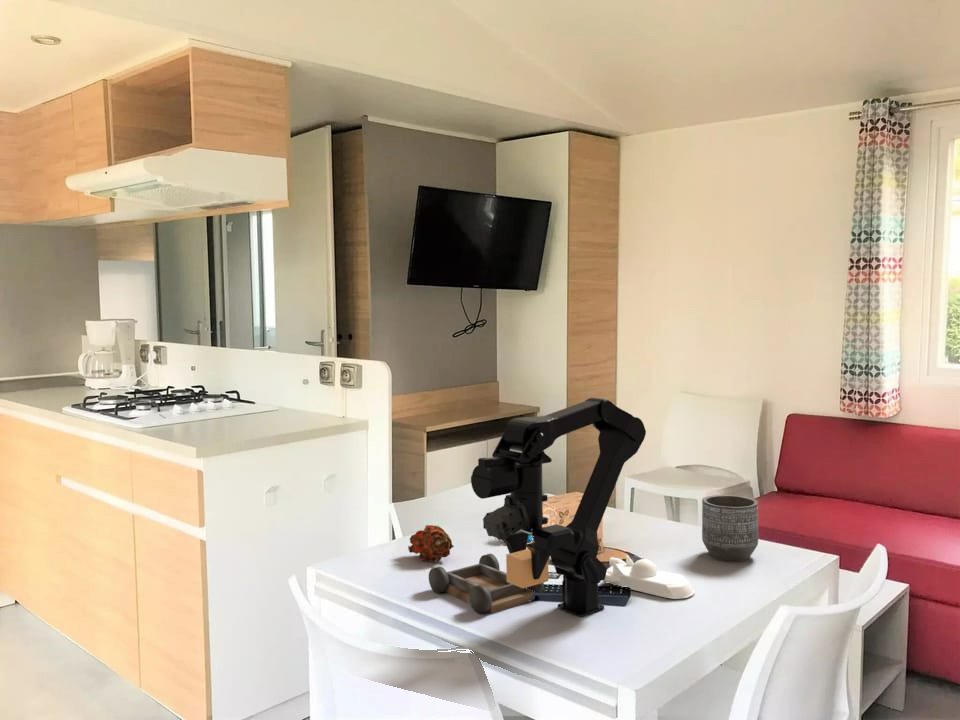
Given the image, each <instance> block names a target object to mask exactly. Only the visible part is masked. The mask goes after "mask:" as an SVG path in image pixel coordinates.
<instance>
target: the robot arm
mask: <svg viewBox="0 0 960 720" xmlns="http://www.w3.org/2000/svg"><path fill="white" fill-rule="evenodd" d="M590 425H592V427H593V428H595V429H596V430H597V431H598V432H599V434H598V437H597V438H598V439H597V441H598V446H599V447H598V448H599V454H598V458H597V460H596V462H595V465H594V467H593V470H592V472H591V475H590V478H589V479H588V482H587V485H586V487H585V489H584V492H583V493H582V496H581V499H580V502H579V504H578V507H577V509H576V511H575V514H574V515H573V516H574V517H573V519H572V520H571V522H570V523H569V524H567V525H566V526H564V525H562V524H561V525H560V524H552V525H548V526H544V527H543V525H547V524H549V523H548V521H549V519H548V517H546V516H544V513H543V512H544V509H543V505H544V504H543V503H544V502H547V501H548V495H547V494H544V493H543V464H548V463H551V462H552V458H551V457H550V456H549V455H547V454H546V453H545V450H547V449H548V448H550V447H552V446H553V444H554V443H555V441H556V440H557V439H558V438H560V437H562V436H566V435H567V434H570V433H572V432H575V431H577V430H580V429H582V428H585V427H588V426H590ZM646 435H647V430H646V427H645V424H644V423H643V420H642V419H641V418H639V417H638V416H637V417H636V416H633V414H631V413H629V412H627V411H626V410H623V409H622V408H620V407H618V406H616V404H614V403H613V402H612V401H610V400H609V399H607V398H599V397H598V398H597V397H590V398H587V399H586V400H584V401H582V402H579V403H577V404H573V405H571V406H568V407H565V408H562V409H560V410H557V411H554V412H551V413H549V414H547V415H541V416H540V415H539V416H523V417H516V418H513V419H510V420H509V421H508V422H507V423H506V427H505V429H504V431H503V433H502V436H501V438H500V439H499V441H498V443H497V445H496V447H495V449H494V451H493V452H492V454H491V455H492V457H479V458H478V460H477V462H478V464H477V465H476V466H475V467H474V468H473V470H472V474H471V476H470V483H471V488H472V491H473V493H474V494H475V495H476V496H477V497H478V498H479V499H483V500H484V499H488V498H493V497H500V496H504V495H505V497H504V501H503V502H504V504H503V505H502V506H501V507H498V508H496V509H495V510H493V511H490V512H486V514H485V515H484V517H483V518H482V522H483V523H482V524H483V529H484V530H486V533H487V536H488V537H493V538H496V539H497V540H499V541H503V542H504V544H505V545H506V548H507V550H508V552H509V553H508V554H510V553H514V552H518V551H522V550H526V549H529V550H530V551H531V559H532V572H533V578H534V579H535V580H536V579H539V578H540V576H541V574H542V572H543V570H544V567H545V565H546V563H547V561H548V562H549V559H550V560H551V563H552V564H553V567H554V569H555V572H556V574H558V575H562V577H563V578H562V579H563V580H562V582H561V583H562V591H561V592H562V593H561V594H562V602H561V603H558V604H557V608H558V609H561V610H563V611H566V612H567V613H570V614H573V615H575V616H577V617H584V616H586V615H590V614H593V613H595V612H598V611H601V610H604V609H605V605H603V604H600V603H599V584H600V583H601V582H602V580H604V579H605V576H606V572H607V569H608V568H607V567H606V565H605V564H603V562H602V561H601V560H599V558H598V552H599V549H600V545H599V537H598V531H599V530H598V529H599V527H600V525H601V522H602V520H603V517H604V514H605V511H606V510H607V507H608V504H609V502H610V500H611V497H612V495H613V492H614V489H615V487H616V484H617V483H618V480H619V477H620V475H621V472H622V469H623V467H624V465H625V463H626V462H627V461H629V460H631V458H632V457H633V456H635V455H636V454H637V453H638V451H639V450H640V447H642V443H643V442H644V440H645V437H646ZM531 529H532V530H531ZM528 534H529V535H531V536H532V537H533V536H534V539H533V541H532V542H528V541H527V540H528Z"/></svg>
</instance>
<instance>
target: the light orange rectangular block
mask: <svg viewBox="0 0 960 720" xmlns="http://www.w3.org/2000/svg"><path fill="white" fill-rule="evenodd" d="M505 555H506V556H505V558H506V563H505V564H506V565H505V566H506V573H507V582H508V583H511V584H513V585H516V586H518V587H520V588H526V587H530V586H533V585H537V584H540V583H543V582H544V583H547V582H549V560H548V561H547V563H546V565H545V567H544V570H543V572H542V574H541V576H540V578H539V579H536V580H535V579H534V578H533V572H532V559H531V551H530V550H529V549H528V548H526V550H522V551H518V552H514V553H507V554H505Z"/></svg>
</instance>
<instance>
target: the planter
mask: <svg viewBox="0 0 960 720" xmlns="http://www.w3.org/2000/svg"><path fill="white" fill-rule="evenodd" d="M701 501H702V505H701V506H702V510H701V513H702V516H701V519H702V521H701V522H702V523H701V524H702V526H701V527H702V528H701V539H702V542H703V544H704V546H705V549H706V550H707V551H708V553H709V554H710V556H711V557H712V558H713V559H716V560H718V561H723V562H730V563H732V562H733V563H739V562H745V561H747V560H749V559H750V557H751V556H752V554H753V553H754V552H755V550H756V548H757V546H758V544H759V501H758V500H757V499H754V498H751V497H748V496H744V495H735V494H714V495H713V494H712V495H707V496H705V497H703V498H702V500H701Z"/></svg>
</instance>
